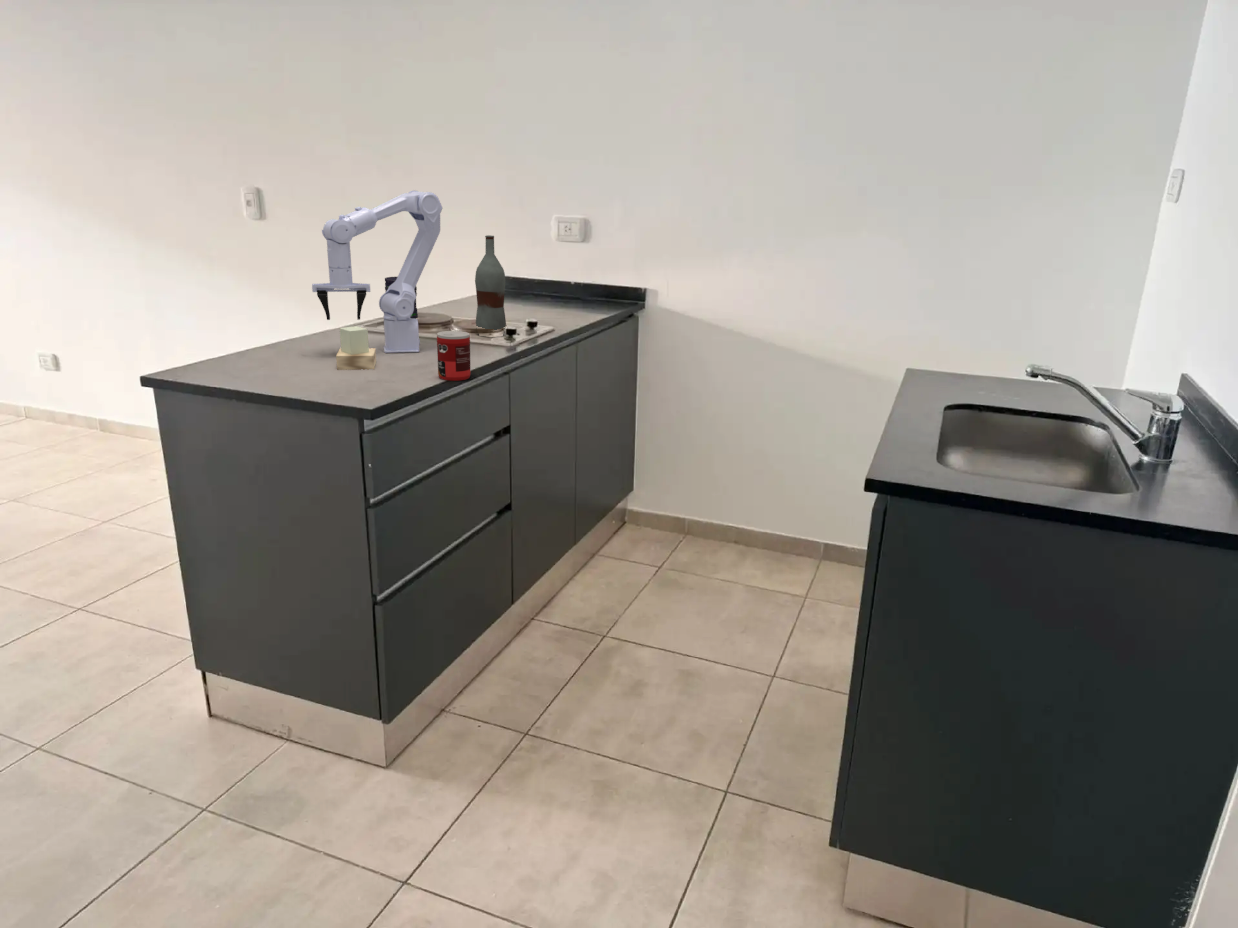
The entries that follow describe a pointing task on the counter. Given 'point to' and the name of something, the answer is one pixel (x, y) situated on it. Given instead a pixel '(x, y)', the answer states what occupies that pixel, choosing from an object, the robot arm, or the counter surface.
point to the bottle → (490, 290)
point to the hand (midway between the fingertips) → (343, 319)
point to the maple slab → (356, 360)
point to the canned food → (453, 355)
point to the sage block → (354, 340)
